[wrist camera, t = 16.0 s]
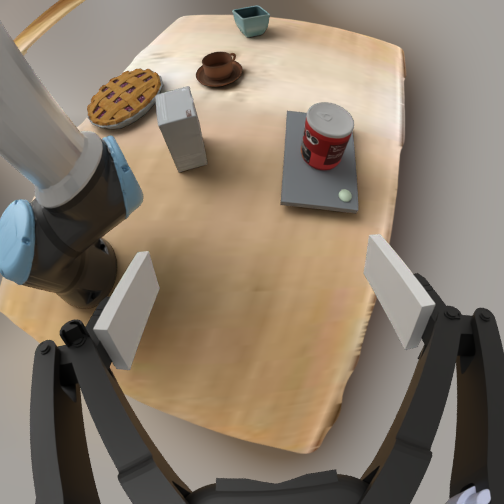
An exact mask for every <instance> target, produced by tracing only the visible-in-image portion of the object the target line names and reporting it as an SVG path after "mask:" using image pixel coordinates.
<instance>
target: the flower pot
mask: <svg viewBox="0 0 504 504" xmlns="http://www.w3.org/2000/svg"><path fill="white" fill-rule="evenodd" d="M232 11H233V15H234V19H235V22H236V25H237V26H238V28H239V29H240V31H241V32H242V33H243V34H244V35H245V36H246V37H253V36H258V35H262V34H263V33H264V32H265V31H266V29H267V27H268V23H269V17H270V14H269V13H268V12H266V11H265V10H264V9H262V8H261V7H260V6H252V7H247V8H241V9H236V10H232Z"/></svg>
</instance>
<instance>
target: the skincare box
mask: <svg viewBox="0 0 504 504" xmlns="http://www.w3.org/2000/svg"><path fill="white" fill-rule="evenodd" d="M155 97H156V111H157V120H158V126H159V128H160V130H161V132H162V135H163V137H164V139H165V142H166V144H167V146H168V149H169V151H170V153H171V156H172V158H173V160H174V163H175V165H176V167H177V170H178V172H182V171H186V170H189V169H192V168H196V167H200V166H203V165H207V164H208V163H207V158H206V153H205V148H204V143H203V138H202V133H201V128H200V123H199V120H198V116H197V113H196V109H195V105H194V102H193V98H192V95H191V91H190V87H189V86H187V87H183V88H179V89H176V90H172V91H168V92H165V93H161V94H158V95H156V96H155Z"/></svg>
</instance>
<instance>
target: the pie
mask: <svg viewBox="0 0 504 504" xmlns="http://www.w3.org/2000/svg"><path fill="white" fill-rule="evenodd" d="M162 86H163V83H162V80H161V77H160V76H159V75H158V74H157V73H156V72H153V71H151V70H150V69H146V70H142V69H135V70H134V71H131V72H129V71H126V72H124V73H122V74H121V75H120V76H118V77H116V78H112V79H111V80H110V81H109V83H108V84H106V85H103V86H102V87H101V88H100V89H99V92H98V93H97V94H96V95H94V96H93V97H92V99H91V103H90V105H88V107H87V110H88V119H89V120H90V122H91V123H92V125H95V126H98V127H101V128H105V127H106V128H109V129H118V128H123V127H125V126H127V125H129V124H131V123H133V122H135V121H136V120H138V119H139V118H140V117H142V116H143V115H144V114H146V113H147V112H148V111H149V110H150V108H151V107H152V106H153V105H154V104H155V103H156V97H155V96H156V95H158V94H160V91H161V88H162Z"/></svg>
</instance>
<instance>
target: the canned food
mask: <svg viewBox="0 0 504 504" xmlns="http://www.w3.org/2000/svg"><path fill="white" fill-rule="evenodd" d="M353 129H354V120H353V118H352V116H351V115H350V113H349V112H348V111H347V110H345V109H344V108H342V107H340V106H338V105H336V104H333V103H327V102H321V103H317V104H314V105H312V106H311V107H310V108H309V110H308V112H307V116H306V121H305V127H304V133H303V139H302V144H301V154H302V157H303V159H304V161H305V162H306V163H307V164H308V165H309V166H311V167H313V168H315V169H318V170H330V169H333V168H334V167H336V166H337V165H338V164H339V163H340V161H341V158H342V156H343V154H344V151H345V149H346V146H347V144H348V142H349V139H350V137H351V134H352V131H353Z"/></svg>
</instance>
